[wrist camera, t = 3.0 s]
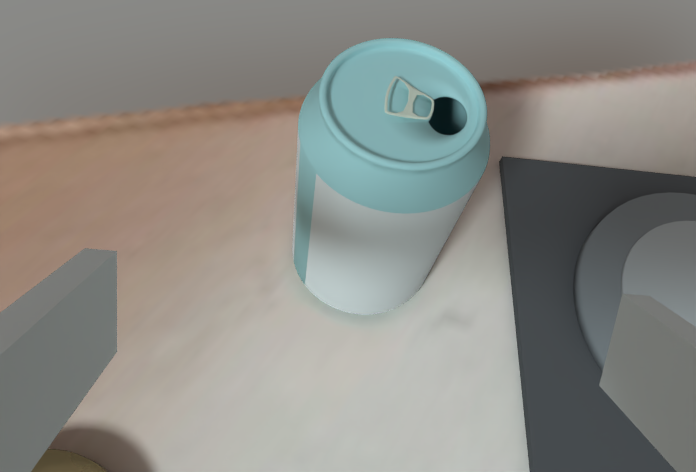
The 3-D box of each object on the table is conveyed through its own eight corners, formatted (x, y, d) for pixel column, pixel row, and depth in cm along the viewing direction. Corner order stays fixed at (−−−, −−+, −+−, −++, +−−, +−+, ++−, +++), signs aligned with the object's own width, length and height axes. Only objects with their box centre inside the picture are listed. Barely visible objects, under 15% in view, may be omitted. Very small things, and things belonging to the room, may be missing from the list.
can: (391, 183, 32) (446, 7, 22) (449, 292, 29) (545, 149, 19) (272, 220, 30) (269, 45, 20) (322, 339, 27) (350, 210, 17)
